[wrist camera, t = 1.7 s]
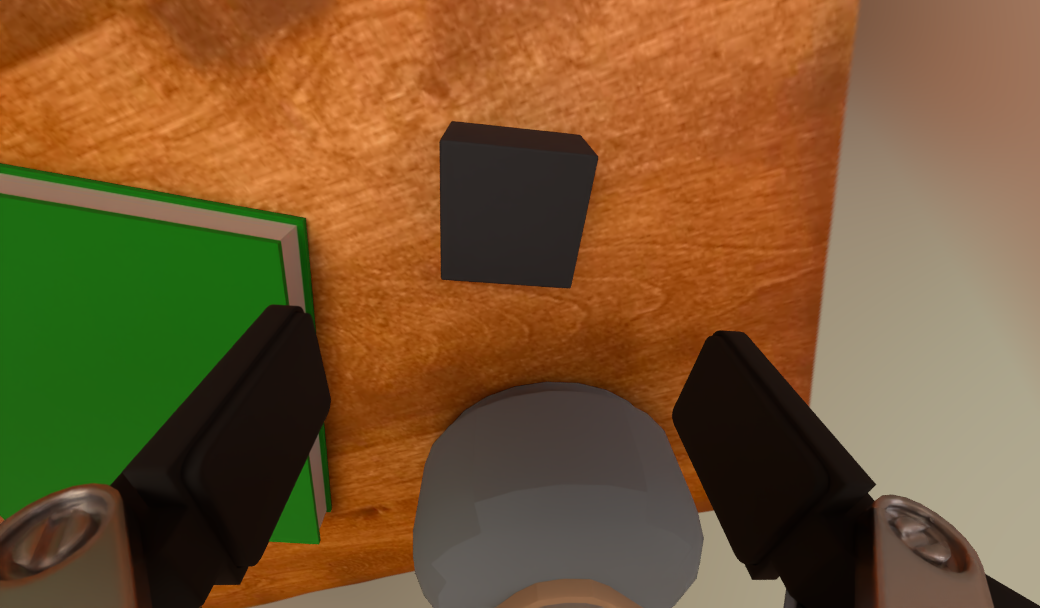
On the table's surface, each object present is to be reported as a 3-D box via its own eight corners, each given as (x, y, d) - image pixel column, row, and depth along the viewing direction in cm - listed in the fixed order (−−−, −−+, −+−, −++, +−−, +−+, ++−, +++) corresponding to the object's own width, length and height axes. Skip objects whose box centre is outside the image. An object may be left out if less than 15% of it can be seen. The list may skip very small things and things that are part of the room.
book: (305, 218, 20) (277, 243, 17) (331, 508, 35) (318, 544, 32) (-264, 115, 16) (-401, 129, 14) (41, 487, 32) (2, 526, 29)
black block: (581, 134, 18) (599, 156, 15) (560, 250, 21) (570, 289, 18) (450, 120, 17) (439, 139, 14) (450, 242, 21) (440, 280, 18)
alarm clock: (448, 527, 38) (429, 702, 28) (406, 379, 26) (348, 586, 16) (644, 514, 38) (695, 684, 28) (685, 363, 27) (796, 557, 17)
